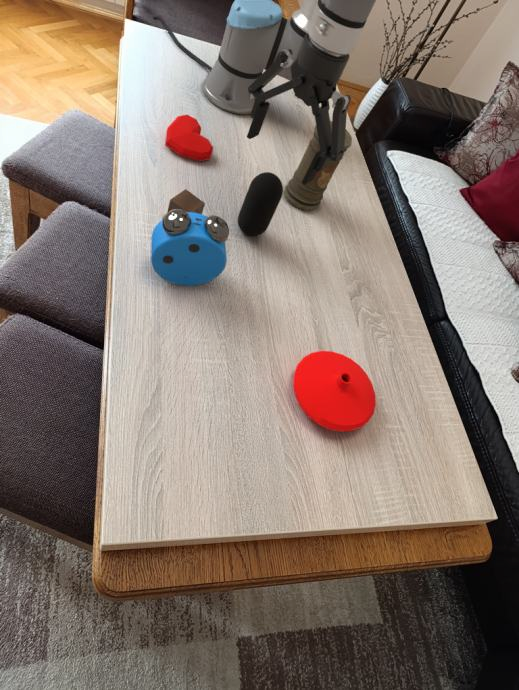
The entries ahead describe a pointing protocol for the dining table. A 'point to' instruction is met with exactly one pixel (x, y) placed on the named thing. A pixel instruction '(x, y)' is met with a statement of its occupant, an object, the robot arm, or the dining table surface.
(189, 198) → the walnut block
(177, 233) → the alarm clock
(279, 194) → the decorative object
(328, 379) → the flat cone with hole
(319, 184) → the container
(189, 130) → the heart
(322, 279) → the dining table surface
